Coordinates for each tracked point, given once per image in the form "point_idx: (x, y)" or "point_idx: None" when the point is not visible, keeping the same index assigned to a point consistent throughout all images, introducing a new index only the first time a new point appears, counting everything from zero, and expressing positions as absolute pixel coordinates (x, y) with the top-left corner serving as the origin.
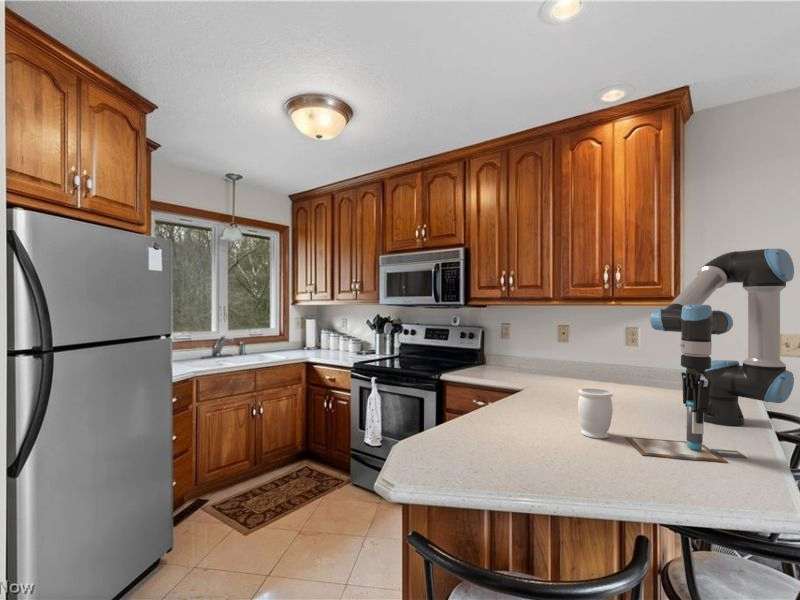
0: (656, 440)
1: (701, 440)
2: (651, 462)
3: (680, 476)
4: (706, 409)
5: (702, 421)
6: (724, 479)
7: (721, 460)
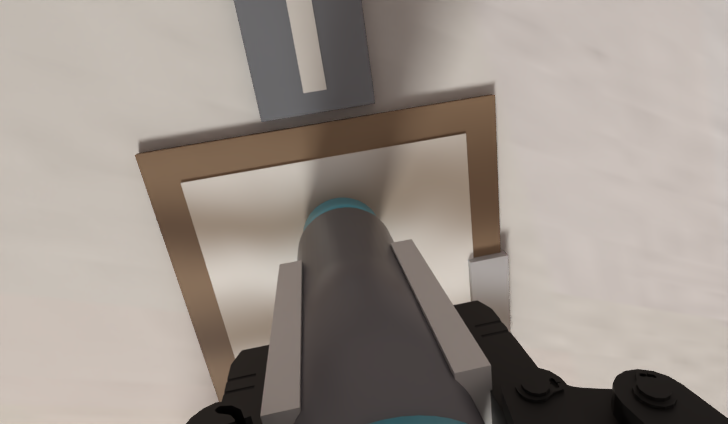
0: None
1: (382, 226)
2: None
3: (703, 339)
4: (692, 420)
5: (496, 319)
6: (715, 185)
7: (485, 126)
